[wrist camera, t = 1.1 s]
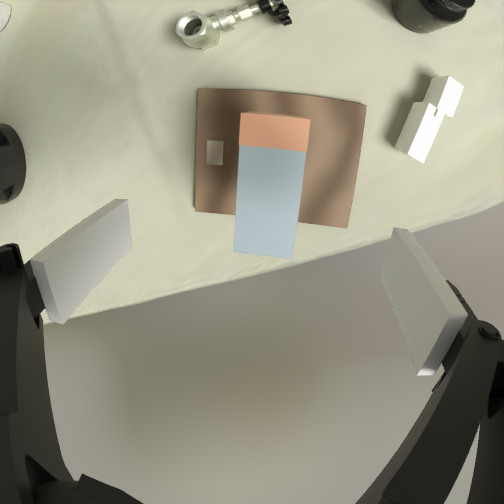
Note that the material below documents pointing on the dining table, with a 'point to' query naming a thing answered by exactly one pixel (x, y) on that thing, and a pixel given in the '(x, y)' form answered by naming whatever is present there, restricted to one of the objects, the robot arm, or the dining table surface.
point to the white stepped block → (428, 117)
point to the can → (4, 15)
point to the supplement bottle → (430, 13)
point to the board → (317, 156)
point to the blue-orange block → (269, 182)
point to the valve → (224, 22)
